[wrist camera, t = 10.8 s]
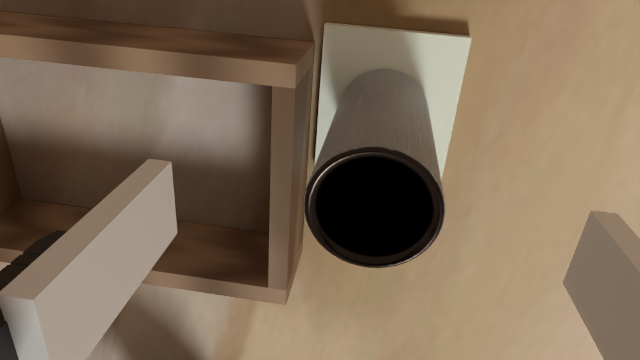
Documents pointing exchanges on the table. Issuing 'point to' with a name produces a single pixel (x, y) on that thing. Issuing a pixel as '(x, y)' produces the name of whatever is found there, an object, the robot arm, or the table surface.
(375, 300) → the table surface
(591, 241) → the robot arm
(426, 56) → the coaster
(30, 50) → the box frame
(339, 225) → the gray cylindrical cup
